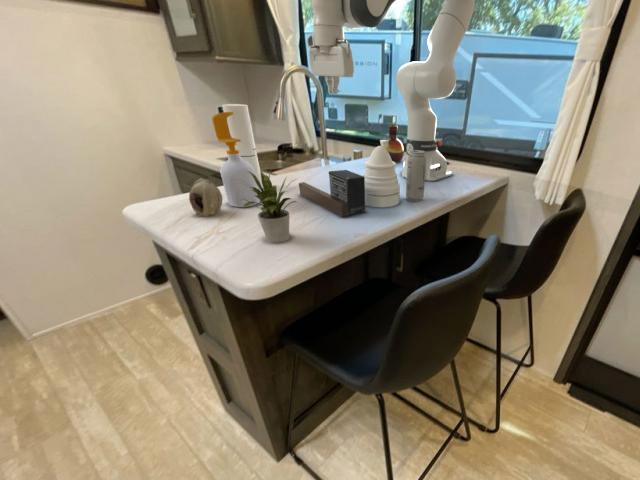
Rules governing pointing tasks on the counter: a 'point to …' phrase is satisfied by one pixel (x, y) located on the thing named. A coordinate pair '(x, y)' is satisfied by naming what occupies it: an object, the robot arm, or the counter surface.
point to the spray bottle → (234, 167)
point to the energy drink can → (416, 175)
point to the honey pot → (381, 179)
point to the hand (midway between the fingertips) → (333, 93)
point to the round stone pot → (205, 198)
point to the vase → (394, 145)
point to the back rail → (324, 199)
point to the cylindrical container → (243, 135)
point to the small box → (348, 189)
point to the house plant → (271, 209)
